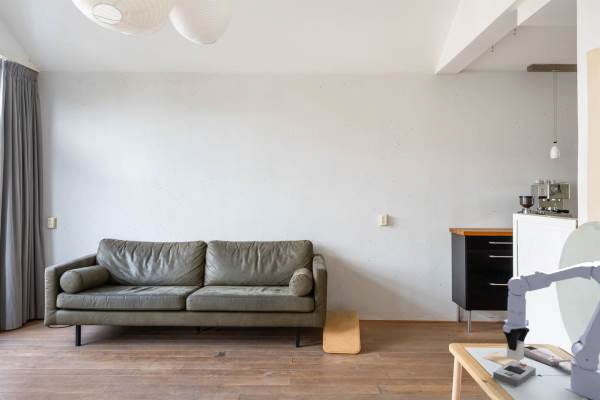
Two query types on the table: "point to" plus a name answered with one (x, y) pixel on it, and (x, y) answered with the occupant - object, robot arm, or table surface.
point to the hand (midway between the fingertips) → (515, 348)
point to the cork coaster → (499, 358)
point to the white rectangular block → (518, 353)
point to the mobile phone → (542, 356)
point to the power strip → (514, 373)
